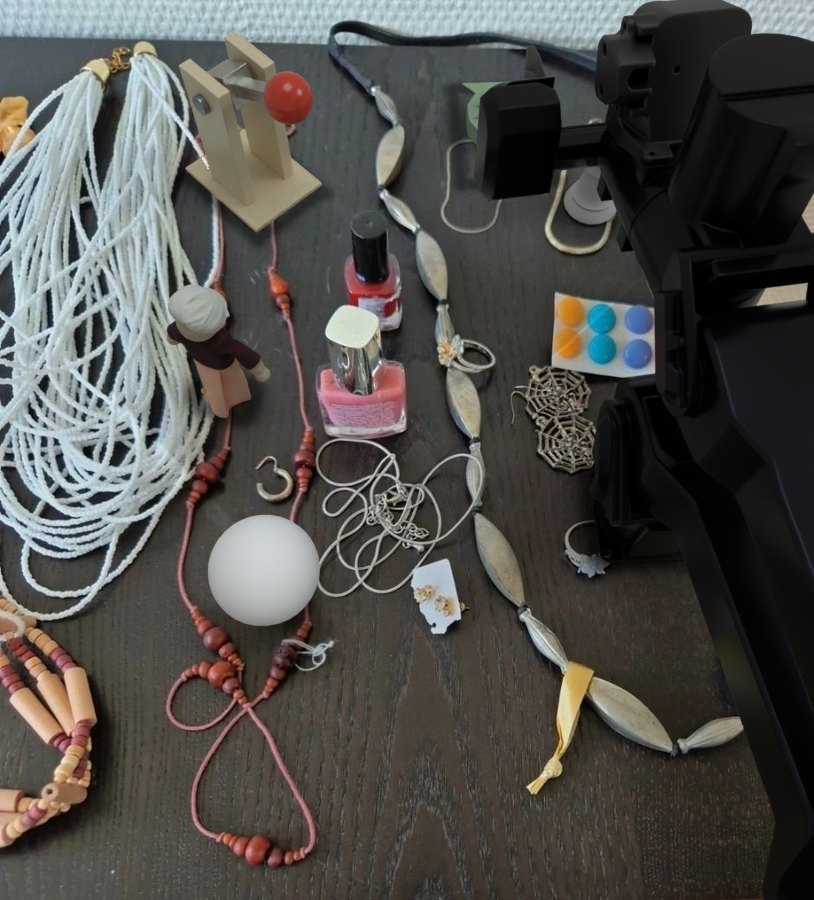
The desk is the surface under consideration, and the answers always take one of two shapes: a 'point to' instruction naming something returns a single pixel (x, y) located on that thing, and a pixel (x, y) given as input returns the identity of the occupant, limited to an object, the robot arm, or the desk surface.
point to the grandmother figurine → (213, 347)
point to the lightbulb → (263, 570)
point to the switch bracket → (244, 144)
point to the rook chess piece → (588, 199)
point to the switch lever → (266, 91)
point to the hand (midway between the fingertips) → (601, 44)
